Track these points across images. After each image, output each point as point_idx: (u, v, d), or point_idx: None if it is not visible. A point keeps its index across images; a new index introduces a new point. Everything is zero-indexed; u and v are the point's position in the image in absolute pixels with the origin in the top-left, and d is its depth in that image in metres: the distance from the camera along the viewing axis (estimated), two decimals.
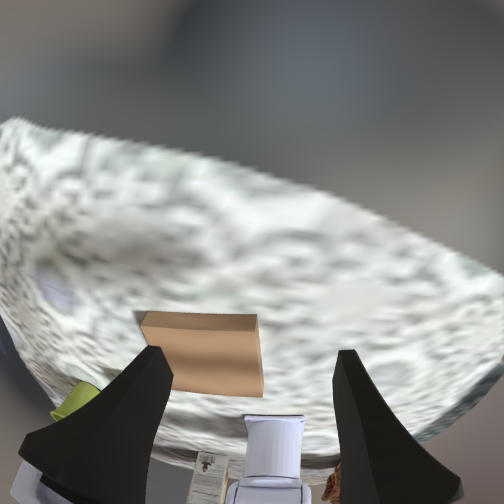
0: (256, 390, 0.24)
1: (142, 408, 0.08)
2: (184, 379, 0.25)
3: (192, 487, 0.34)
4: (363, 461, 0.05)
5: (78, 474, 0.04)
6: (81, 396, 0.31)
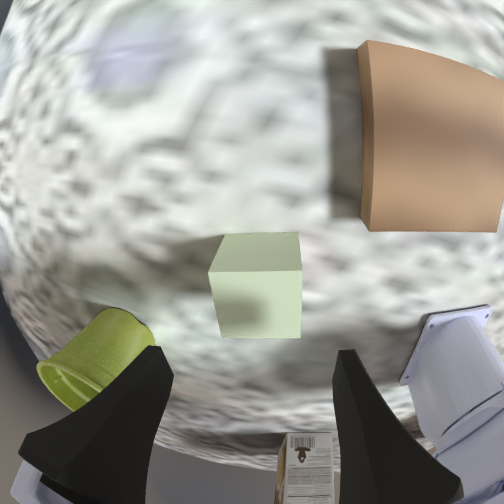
0: (496, 212, 0.11)
1: (142, 408, 0.08)
2: (412, 186, 0.12)
3: (287, 491, 0.21)
4: (363, 461, 0.05)
5: (78, 474, 0.04)
6: (106, 330, 0.18)
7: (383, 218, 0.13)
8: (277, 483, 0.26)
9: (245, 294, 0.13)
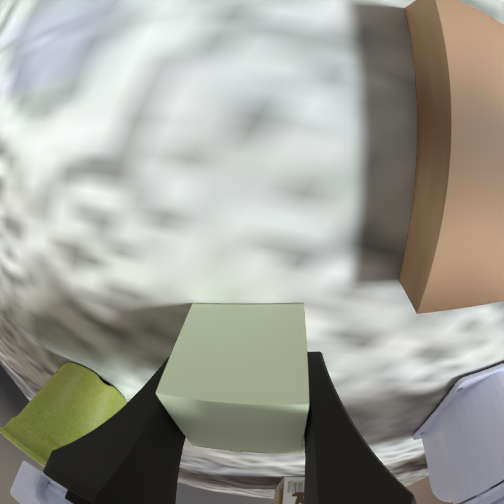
0: None
1: None
2: (488, 243, 0.06)
3: None
4: (314, 466, 0.05)
5: (116, 492, 0.04)
6: (64, 395, 0.12)
7: (441, 294, 0.07)
8: None
9: (217, 420, 0.07)
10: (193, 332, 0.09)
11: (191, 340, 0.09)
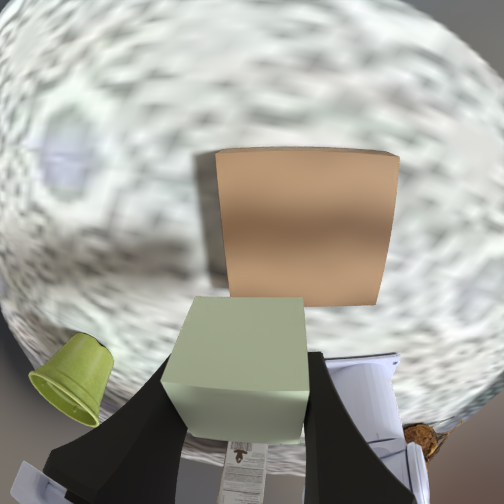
0: (372, 288, 0.17)
1: (173, 414, 0.08)
2: (263, 274, 0.17)
3: (223, 485, 0.26)
4: (315, 466, 0.05)
5: (115, 492, 0.04)
6: (75, 350, 0.23)
7: None
8: None
9: (220, 408, 0.08)
10: (196, 323, 0.10)
11: (195, 331, 0.09)
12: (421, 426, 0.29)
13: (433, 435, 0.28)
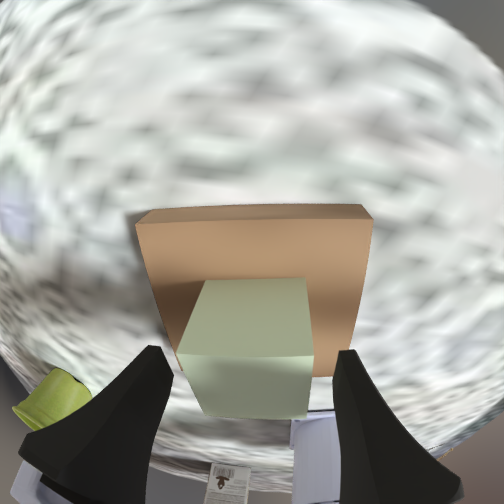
0: None
1: (142, 408, 0.08)
2: None
3: None
4: (363, 461, 0.05)
5: (78, 474, 0.04)
6: (52, 387, 0.20)
7: None
8: None
9: (231, 379, 0.09)
10: (208, 302, 0.11)
11: (206, 309, 0.10)
12: None
13: None
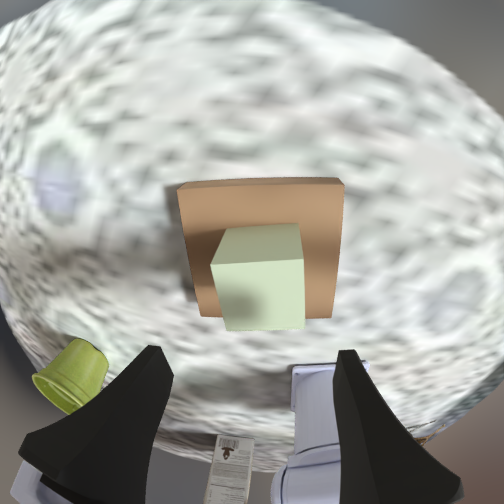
0: (326, 303, 0.19)
1: (142, 408, 0.08)
2: None
3: (211, 480, 0.28)
4: (363, 461, 0.05)
5: (78, 474, 0.04)
6: (73, 354, 0.25)
7: (208, 309, 0.20)
8: None
9: (248, 285, 0.13)
10: (230, 239, 0.15)
11: (229, 242, 0.15)
12: None
13: None
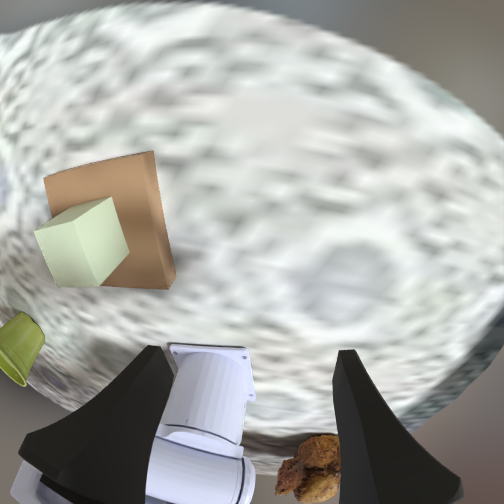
0: (158, 273, 0.19)
1: (142, 408, 0.08)
2: None
3: None
4: (363, 461, 0.05)
5: (78, 474, 0.04)
6: (13, 324, 0.25)
7: None
8: None
9: (53, 245, 0.14)
10: (61, 214, 0.16)
11: (58, 216, 0.15)
12: (326, 437, 0.32)
13: None
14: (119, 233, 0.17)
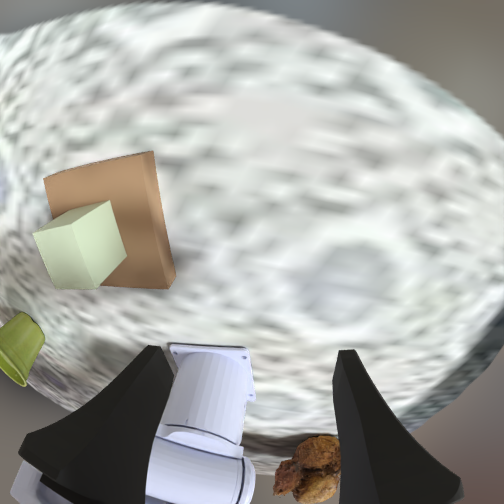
0: (158, 273, 0.19)
1: (142, 408, 0.08)
2: None
3: None
4: (363, 461, 0.05)
5: (78, 474, 0.04)
6: (13, 324, 0.25)
7: None
8: None
9: (52, 248, 0.14)
10: (60, 216, 0.16)
11: (57, 218, 0.15)
12: (323, 438, 0.32)
13: None
14: (117, 236, 0.17)
